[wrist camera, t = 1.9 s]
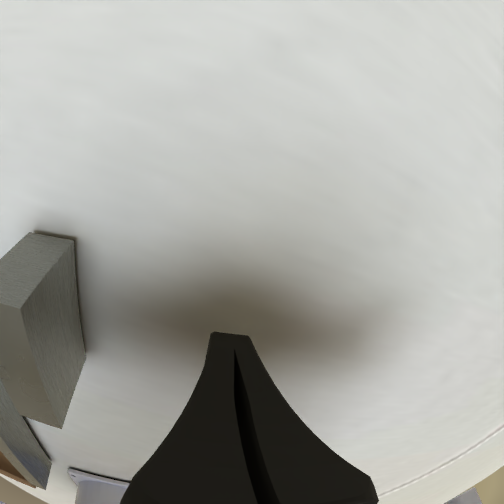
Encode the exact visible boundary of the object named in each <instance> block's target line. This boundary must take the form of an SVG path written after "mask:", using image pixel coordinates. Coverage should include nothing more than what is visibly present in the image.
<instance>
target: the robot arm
mask: <svg viewBox="0 0 504 504" xmlns="http://www.w3.org/2000/svg"><path fill="white" fill-rule="evenodd" d="M67 472H68V474H69V475H70V477H71V478H72V480H73V481H74V482H75V484H76V485H77V486H78V489H77V494H76V500H75V504H377V503H378V501H379V500H378V497H377V493H376V490H375V487H374V485H373V482H372V480H371V478H370V476H368V475H367V474H365V473H363V472H362V471H360V470H359V469H357V468H356V467H354V466H353V465H351V464H350V463H348V462H347V461H345V460H344V459H343V458H341V457H340V456H339V455H337V454H336V453H335V452H334V451H332V450H331V449H330V448H329V447H328V446H327V445H326V444H325V443H324V442H322V441H321V440H320V439H319V438H318V437H317V436H316V435H315V434H314V433H313V432H312V431H311V430H310V429H309V428H308V427H307V426H306V425H305V424H304V422H303V421H302V420H301V419H300V418H299V417H298V416H297V414H296V413H295V412H294V411H293V409H292V408H291V407H290V406H289V404H288V403H287V402H286V400H285V399H284V397H283V396H282V394H281V393H280V392H279V390H278V389H277V387H276V385H275V384H274V382H273V381H272V379H271V377H270V376H269V374H268V372H267V371H266V369H265V367H264V365H263V363H262V362H261V360H260V358H259V356H258V354H257V352H256V350H255V348H254V346H253V344H252V341H251V339H250V338H249V336H245V335H236V334H228V333H220V332H213V333H211V335H210V340H209V345H208V350H207V355H206V360H205V365H204V368H203V371H202V373H201V376H200V378H199V380H198V383H197V385H196V387H195V389H194V391H193V393H192V395H191V397H190V399H189V401H188V403H187V405H186V407H185V408H184V410H183V412H182V414H181V415H180V417H179V418H178V420H177V422H176V423H175V425H174V426H173V428H172V429H171V431H170V432H169V434H168V435H167V437H166V438H165V439H164V441H163V442H162V443H161V445H160V446H159V447H158V449H157V450H156V451H155V453H154V454H153V455H152V456H151V458H150V459H149V460H148V461H147V462H146V463H145V464H144V466H143V467H142V468H141V469H140V470H139V471H138V472H137V473H136V474H135V476H134V477H133V479H132V481H131V482H130V483H127V482H122V481H117V480H113V479H108V478H104V477H100V476H96V475H92V474H88V473H84V472H81V471H77V470H74V469H68V471H67ZM0 504H6V503H3V502H2V501H0ZM445 504H482V502H481V500H480V498H479V495H478V493H477V491H476V489H475V488H472V489H470V490H468V491H466V492H464V493H462V494H460V495H458V496H456V497H454V498H453V499H451V500H449V501H448V502H446V503H445Z"/></svg>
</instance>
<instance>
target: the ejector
mask: <svg viewBox="0 0 504 504" xmlns="http://www.w3.org/2000/svg"><path fill="white" fill-rule="evenodd" d="M85 360H86V355H85V350H84V343H83V337H82V330H81V323H80V315H79V306H78V297H77V286H76V273H75V255H74V240H69V239H63V238H58V237H52V236H47V235H41V234H36V233H30V232H29V233H28V234H27V235H26V236H25V237H24V238H22V239H21V240H20V241H19V242H18V243H17V244H16V245H15V246H14V247H13V248H12V249H11V250H10V251H9V252H7V253H6V254H5V255H4V256H3V257H2V258H1V259H0V451H1V452H2V453H3V455H4V456H5V457H6V458H7V459H8V460H9V461H10V463H11V464H12V465H13V466H14V467H15V468H16V469H17V470H18V471H19V472H20V473H21V475H22V476H23V477H24V478H25V479H26V480H27V481H28V482H29V483H30V484H32V485H34V486H37V487H39V488H42V489H45V490H46V486H47V481H48V477H49V473H50V469H51V465H52V463H51V461H50V460H49V458H48V457H47V455H46V454H45V453H44V451H43V450H42V448H41V447H40V445H39V443H38V442H37V440H36V439H35V437H34V436H33V434H32V432H31V431H30V429H29V427H28V426H27V424H26V422H25V420H24V419H23V417H22V416H25V417H28V418H30V419H33V420H36V421H39V422H42V423H45V424H47V425H51V426H54V427H57V428H60V429H62V427H63V424H64V420H65V417H66V414H67V411H68V408H69V405H70V402H71V399H72V396H73V393H74V390H75V387H76V384H77V382H78V379H79V376H80V373H81V371H82V368H83V365H84V363H85Z"/></svg>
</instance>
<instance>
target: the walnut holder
mask: <svg viewBox="0 0 504 504" xmlns="http://www.w3.org/2000/svg"><path fill="white" fill-rule="evenodd" d="M0 473H1V474H3V475H5V476H8V477H10V478H12V479H14V480H16V481H19V482H21V483H23V484H26V485H28V486H31V487H33V488H36V486H34V485H32V484H30V483H29V482H28V481H27V480H26V479H25V478H24V477H23V476H22V475H21V473H20V472H19V471H18V470H17V469H16V468H15V467H14V466H13V465H12V464H11V463H10V461H9V460H8V459H7V458H6V457H5V456H4V455H3V453H2V452H1V451H0Z"/></svg>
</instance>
